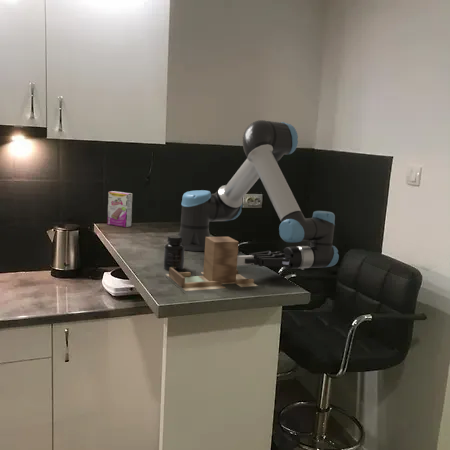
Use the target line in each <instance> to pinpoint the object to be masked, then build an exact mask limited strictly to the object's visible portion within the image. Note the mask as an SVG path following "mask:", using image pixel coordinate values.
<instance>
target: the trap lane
mask: <svg viewBox="0 0 450 450" xmlns="http://www.w3.org/2000/svg"><path fill="white" fill-rule="evenodd" d="M200 273H201V274H202V275H196V276H195V275H193V276H192V273H191V272H190V271H185V272H183V271H176V270H174V269H173V268H172V267H170V268H169V270H168V273H165V275H166V276H167V277H168V278H167V277H166V278H167V279H168V281H170V279H171V280H172V281H173V282H174V283H173V285H174V286H176V287H177V285H178V286H179V287H180V288H181V289H183V290H184V291H186V292H189V291H190V292H191V291H203V290H217V289H218V290H220V289H226V286H224V285H228V284H235V285H237V286H239V287H240V288H245V287H246V288H247V287H258V286H259V285H257V284H256V283H255V279H254V278H246V277H245V276H243V275H242V274H240V273H239V270H238V269H237V271H236V280H235V282H232V283H222V281H221V280H220V281H208V280H207V279H206V278H205V277H203V271H201V272H200ZM169 278H170V279H169ZM175 283H176V284H177V285H175ZM183 290H181V292H182V293H183V294H185V293H184V292H183Z"/></svg>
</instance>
